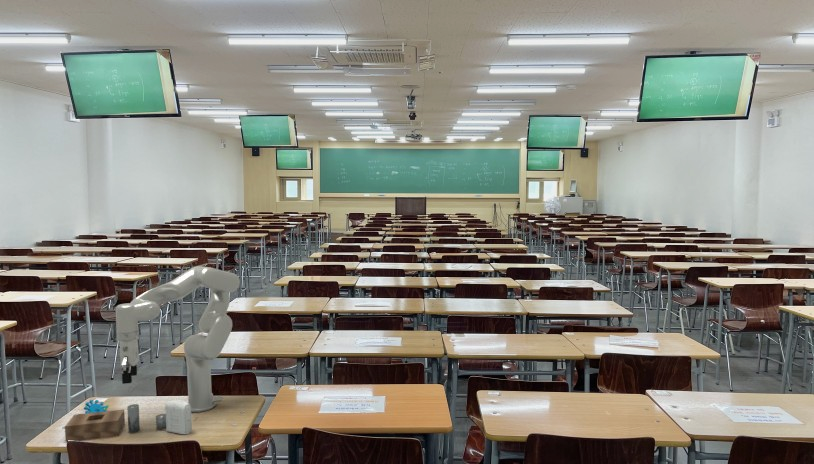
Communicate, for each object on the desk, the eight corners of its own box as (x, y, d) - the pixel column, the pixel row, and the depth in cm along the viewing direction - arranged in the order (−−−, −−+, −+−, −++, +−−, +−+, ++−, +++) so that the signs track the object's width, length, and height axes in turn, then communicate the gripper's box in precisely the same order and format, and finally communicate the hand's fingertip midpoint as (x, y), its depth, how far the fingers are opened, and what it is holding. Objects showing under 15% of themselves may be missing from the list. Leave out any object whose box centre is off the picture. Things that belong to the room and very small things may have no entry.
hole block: (124, 423, 231) (124, 409, 230) (118, 435, 219) (117, 420, 219) (74, 429, 226) (74, 414, 225) (65, 442, 214) (64, 426, 214)
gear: (92, 421, 230) (81, 401, 233) (84, 430, 231) (73, 410, 234) (115, 415, 240) (104, 396, 243) (107, 423, 241) (97, 404, 245)
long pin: (140, 428, 226) (139, 403, 225) (138, 432, 222) (137, 407, 221) (129, 429, 225) (128, 404, 224) (127, 433, 221) (126, 408, 220)
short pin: (168, 425, 228) (167, 413, 228) (166, 429, 225) (166, 416, 224) (157, 426, 227) (156, 414, 227) (155, 430, 223) (155, 418, 223)
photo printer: (193, 431, 222) (192, 400, 221) (185, 435, 218) (184, 403, 217) (173, 427, 226) (171, 397, 225) (164, 432, 222) (163, 400, 221)
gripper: (133, 340, 214) (135, 385, 215) (142, 330, 230) (144, 371, 232) (111, 342, 212) (113, 387, 213) (122, 331, 229) (124, 373, 230)
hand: (129, 379), depth 222 cm, fingers open, 9 cm apart
